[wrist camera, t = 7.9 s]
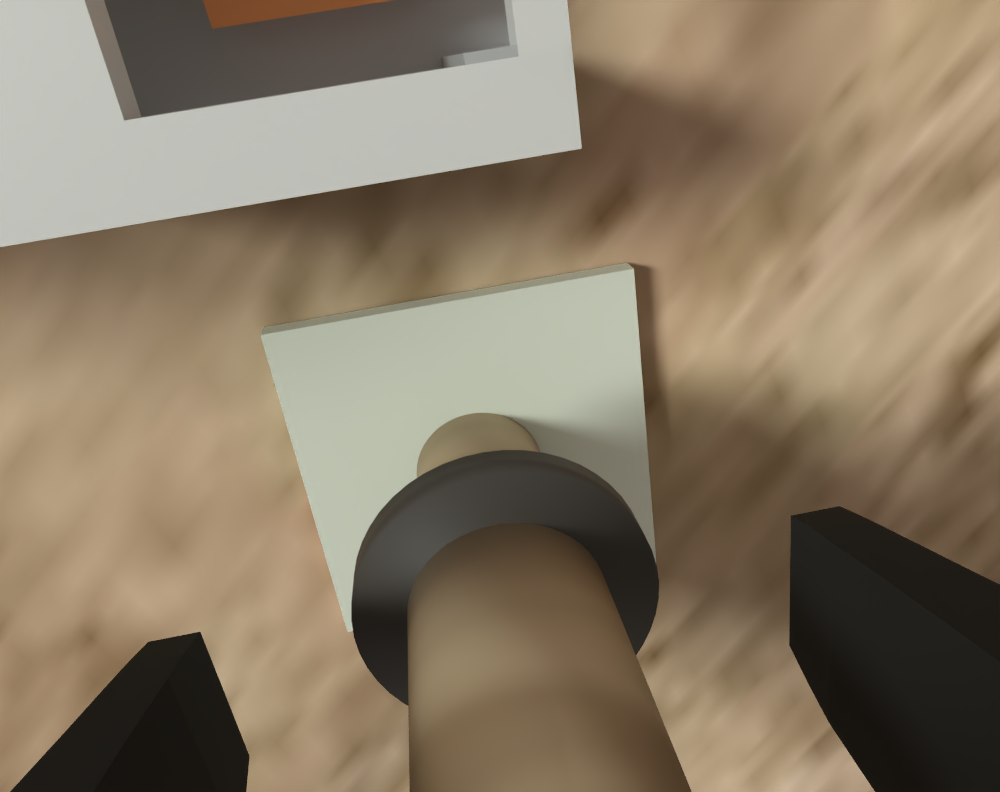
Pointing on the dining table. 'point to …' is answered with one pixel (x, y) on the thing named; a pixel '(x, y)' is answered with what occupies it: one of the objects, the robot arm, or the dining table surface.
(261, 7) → the plate
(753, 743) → the dining table surface
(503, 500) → the stylus
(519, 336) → the rest pad
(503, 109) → the box
